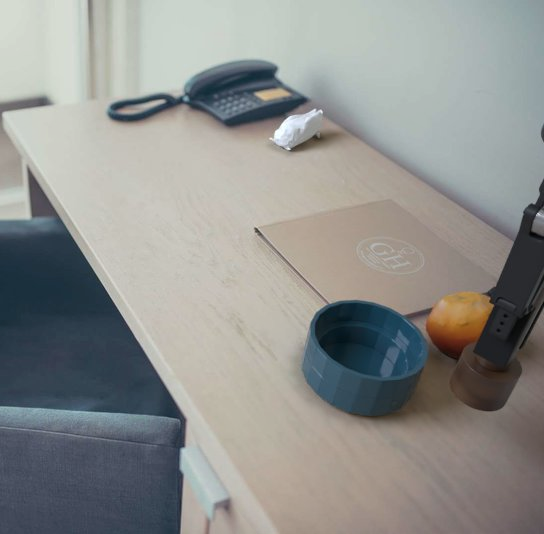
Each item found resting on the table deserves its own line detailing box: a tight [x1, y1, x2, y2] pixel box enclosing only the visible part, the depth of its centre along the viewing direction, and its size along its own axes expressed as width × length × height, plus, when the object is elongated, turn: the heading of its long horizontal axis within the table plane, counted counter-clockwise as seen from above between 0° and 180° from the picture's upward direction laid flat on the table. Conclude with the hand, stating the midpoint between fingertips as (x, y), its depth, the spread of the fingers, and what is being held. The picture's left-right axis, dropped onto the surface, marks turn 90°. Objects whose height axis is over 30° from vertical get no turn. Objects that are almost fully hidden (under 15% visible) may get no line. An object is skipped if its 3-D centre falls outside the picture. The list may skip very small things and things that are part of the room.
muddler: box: [448, 287, 544, 413], centre depth 56 cm, size 5×5×16 cm
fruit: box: [425, 291, 494, 360], centre depth 74 cm, size 8×8×8 cm
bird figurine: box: [269, 108, 324, 151], centre depth 114 cm, size 5×7×10 cm
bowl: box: [301, 299, 430, 417], centre depth 69 cm, size 12×12×6 cm
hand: (498, 348), depth 57 cm, fingers closed on muddler, 3 cm apart
